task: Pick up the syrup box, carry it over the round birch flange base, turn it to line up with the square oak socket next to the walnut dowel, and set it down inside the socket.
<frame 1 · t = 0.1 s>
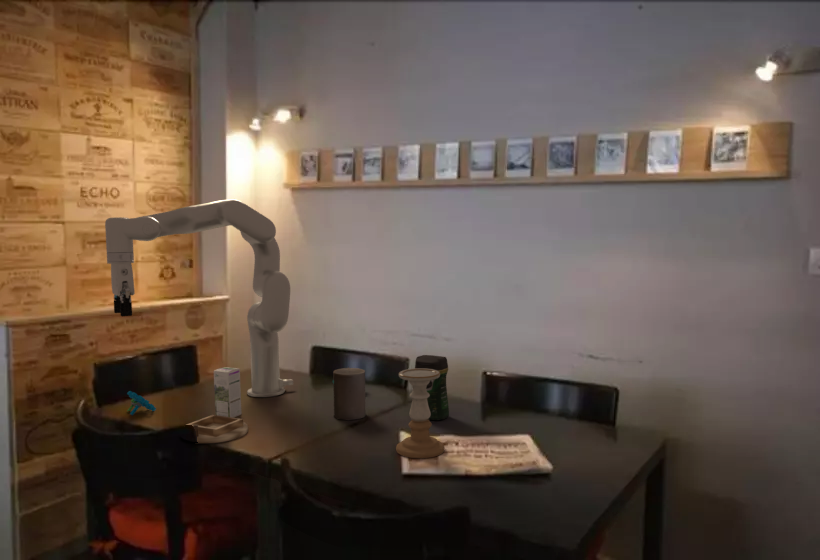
hand: (123, 314, 210), 31 cm above the table, fingers open, 9 cm apart
flange base: (214, 433, 192), on the table
blue t-shaped piece: (141, 413, 215), on the table
candle holder: (420, 451, 175), on the table
coffee jar: (432, 417, 205), on the table
pillar candle: (350, 416, 208), on the table
syrup box: (228, 416, 210), on the table
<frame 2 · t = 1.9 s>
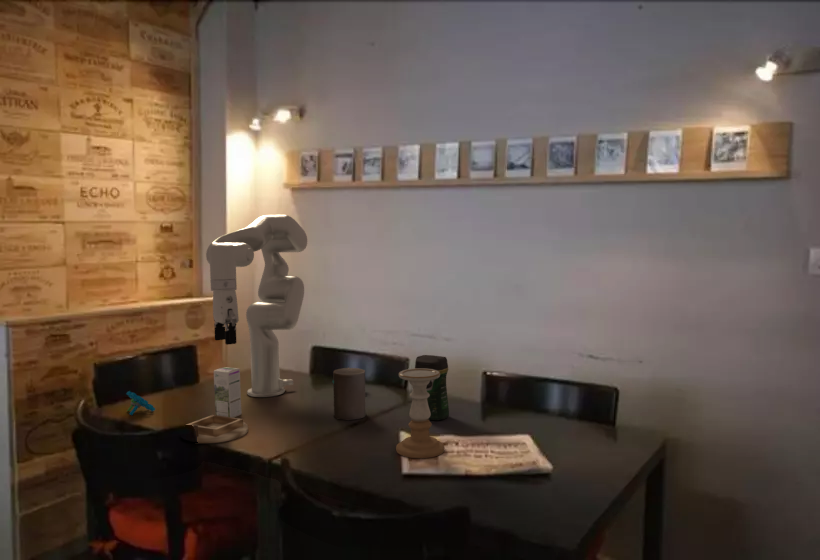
hand: (225, 341, 208), 23 cm above the table, fingers open, 9 cm apart
nothing on the table moved.
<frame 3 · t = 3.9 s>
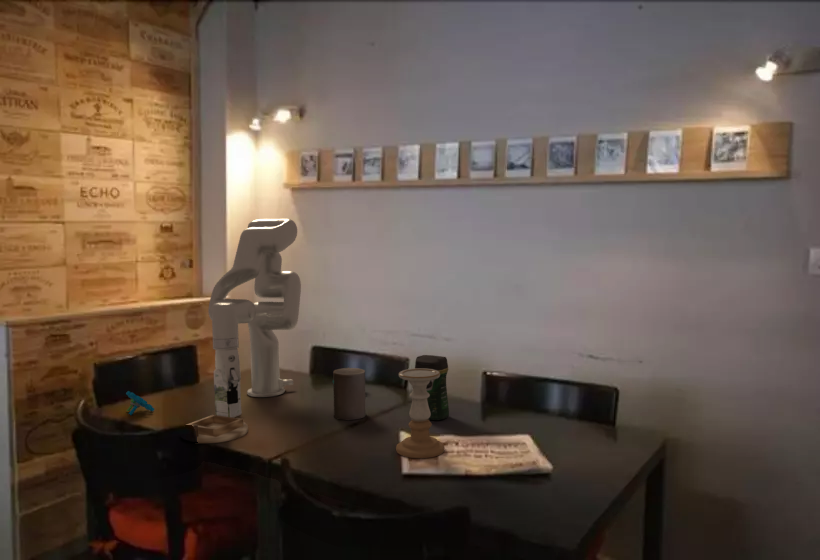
hand: (227, 400, 209), 5 cm above the table, fingers closed on syrup box, 7 cm apart
syrup box: (228, 416, 210), on the table, touching gripper
everything else where it was.
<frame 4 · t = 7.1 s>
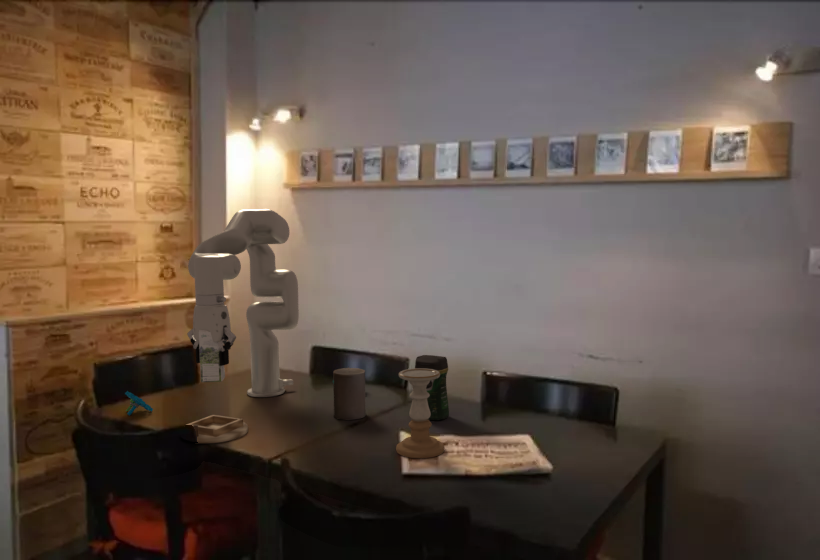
hand: (212, 363, 191), 20 cm above the table, fingers closed on syrup box, 7 cm apart
syrup box: (213, 380, 191), point 15 cm above the table, touching gripper
everything else where it was.
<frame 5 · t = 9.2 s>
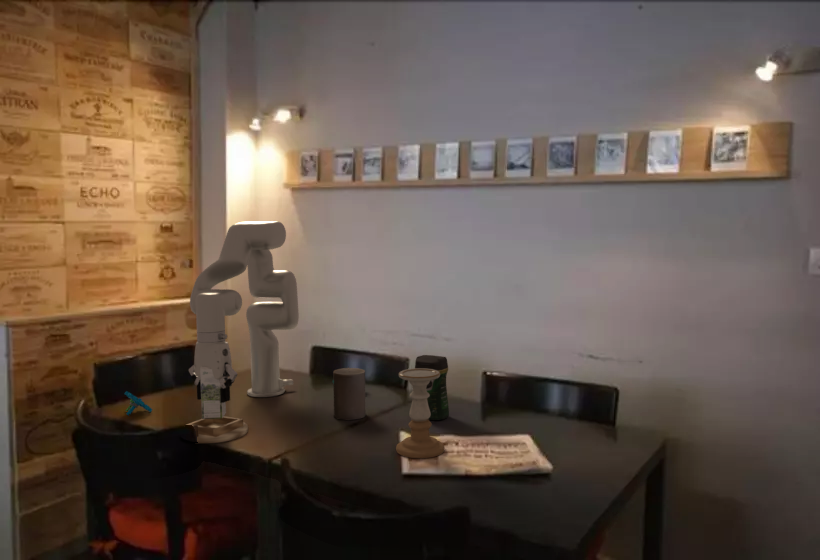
hand: (213, 399, 192), 10 cm above the table, fingers closed on syrup box, 7 cm apart
syrup box: (214, 417, 192), point 5 cm above the table, touching gripper
everything else where it was.
when the fingers open (7 cm above the table, at t = 10.3 s): syrup box drops 1 cm, resting on flange base.
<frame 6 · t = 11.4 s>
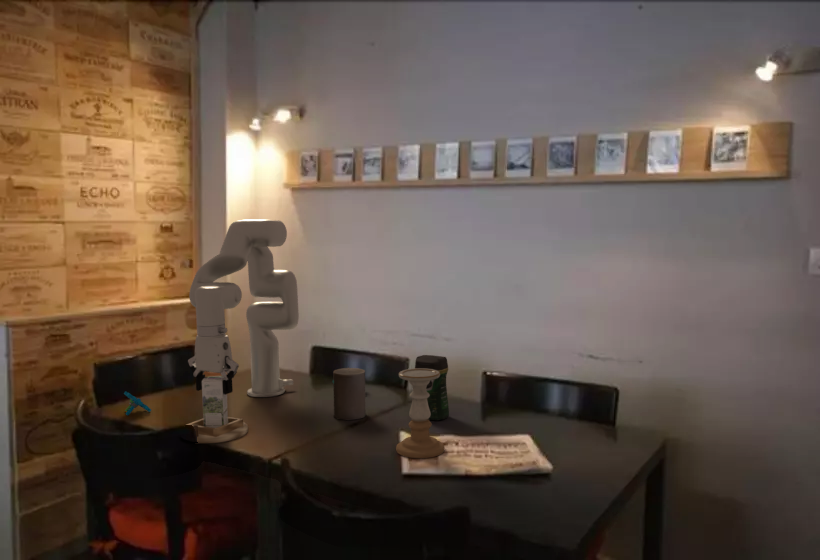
hand: (214, 391, 192), 12 cm above the table, fingers open, 9 cm apart
syrup box: (216, 429, 192), point 1 cm above the table, touching flange base
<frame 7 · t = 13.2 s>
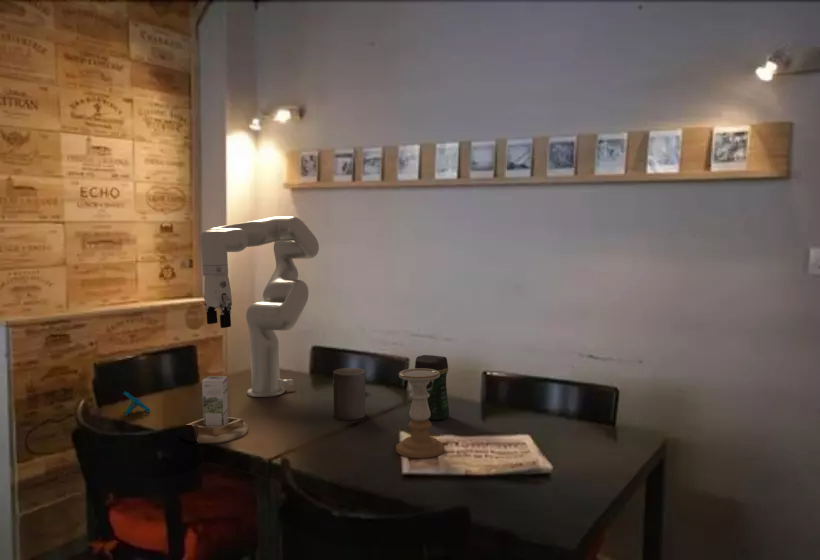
hand: (219, 325, 214), 27 cm above the table, fingers open, 9 cm apart
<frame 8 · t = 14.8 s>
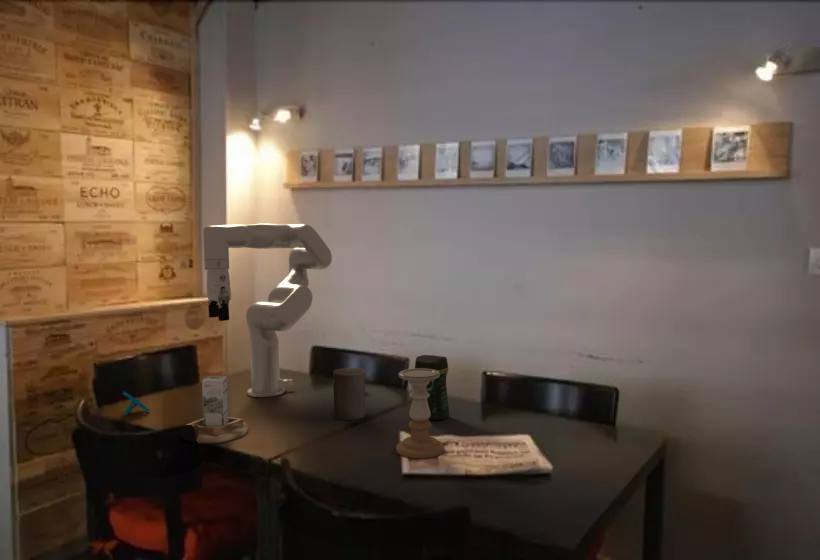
hand: (218, 318, 219), 28 cm above the table, fingers open, 9 cm apart
at the end: syrup box 0.6 cm off-centre on the flange base, point 1.0 cm above the flange base's base; syrup box tilted 0°; the gripper is holding nothing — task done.
